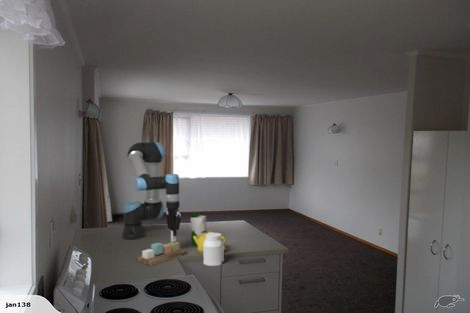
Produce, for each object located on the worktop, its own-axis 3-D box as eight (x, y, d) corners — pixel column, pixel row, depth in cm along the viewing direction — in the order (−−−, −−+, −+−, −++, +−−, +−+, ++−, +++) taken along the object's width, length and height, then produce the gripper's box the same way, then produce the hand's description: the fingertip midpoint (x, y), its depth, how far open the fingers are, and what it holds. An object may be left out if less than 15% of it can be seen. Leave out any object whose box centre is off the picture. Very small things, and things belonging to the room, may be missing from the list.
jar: (219, 266, 191) (218, 237, 190) (201, 265, 193) (201, 237, 192) (225, 259, 202) (224, 232, 201) (208, 258, 204) (207, 231, 204)
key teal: (151, 253, 205) (151, 244, 205) (158, 251, 208) (157, 242, 208) (156, 254, 202) (156, 245, 202) (163, 252, 205) (163, 243, 205)
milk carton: (194, 243, 235) (193, 211, 234) (208, 243, 233) (207, 212, 232) (189, 247, 226) (189, 214, 225) (204, 247, 224) (203, 215, 223)
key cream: (142, 259, 200) (142, 250, 200) (149, 257, 204) (149, 248, 204) (147, 261, 197) (147, 252, 197) (154, 259, 201) (154, 250, 201)
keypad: (135, 260, 203) (135, 256, 202) (171, 249, 222) (170, 245, 221) (151, 266, 193) (151, 261, 193) (186, 254, 212) (186, 249, 212)
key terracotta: (160, 254, 209) (159, 245, 209) (166, 252, 213) (166, 243, 213) (165, 255, 206) (165, 247, 206) (171, 253, 210) (171, 245, 210)
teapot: (189, 253, 214) (189, 233, 213) (197, 247, 225) (197, 228, 225) (222, 256, 208) (221, 235, 207) (228, 249, 220) (228, 230, 219)
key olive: (168, 251, 214) (168, 243, 214) (174, 249, 217) (174, 241, 217) (173, 253, 211) (173, 244, 211) (179, 251, 214) (179, 242, 214)
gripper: (160, 200, 214) (161, 240, 216) (175, 203, 206) (176, 244, 207) (170, 198, 220) (171, 237, 221) (185, 201, 211) (186, 241, 213)
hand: (173, 241), depth 214 cm, fingers closed
